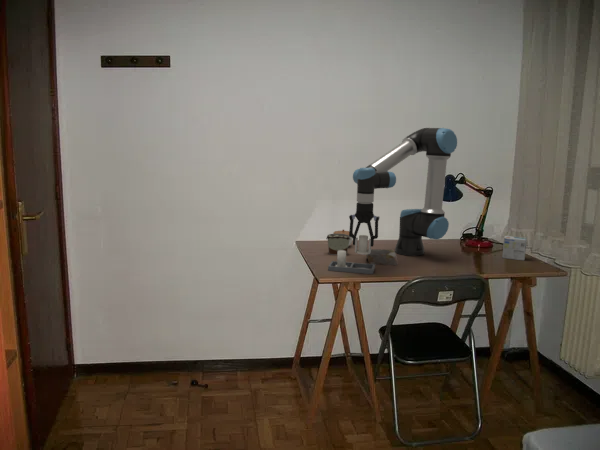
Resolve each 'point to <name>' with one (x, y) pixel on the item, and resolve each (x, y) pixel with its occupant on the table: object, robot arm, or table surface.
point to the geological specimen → (382, 257)
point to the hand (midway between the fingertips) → (362, 252)
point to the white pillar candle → (363, 245)
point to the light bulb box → (514, 248)
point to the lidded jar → (344, 233)
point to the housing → (349, 265)
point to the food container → (337, 243)
